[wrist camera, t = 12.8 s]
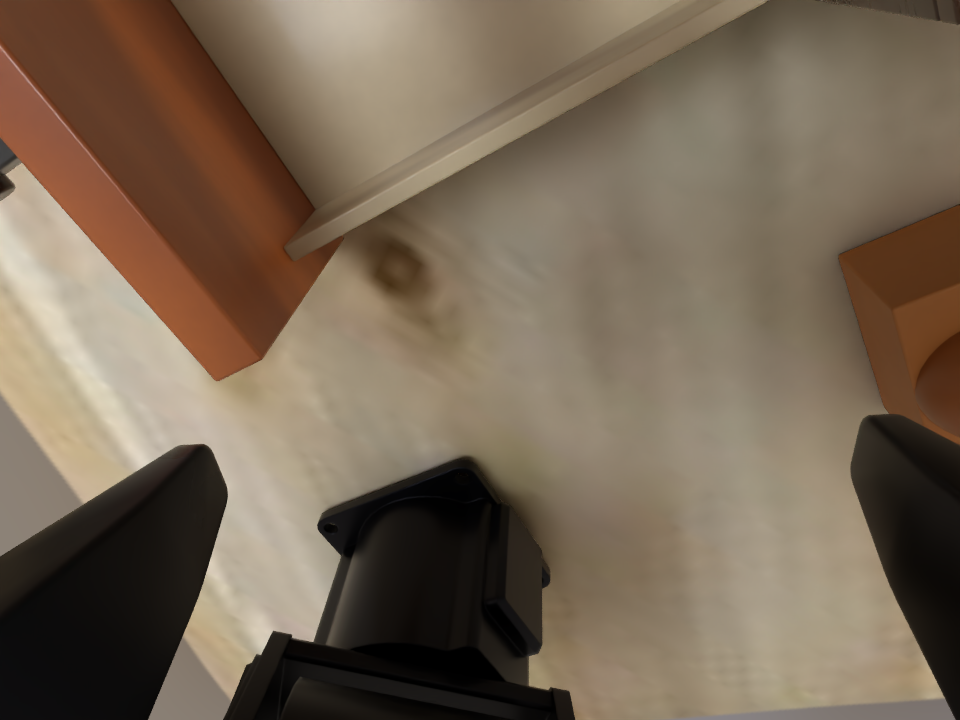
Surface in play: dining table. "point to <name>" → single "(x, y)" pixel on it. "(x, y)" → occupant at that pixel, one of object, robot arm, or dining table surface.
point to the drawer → (288, 126)
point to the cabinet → (911, 8)
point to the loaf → (912, 318)
